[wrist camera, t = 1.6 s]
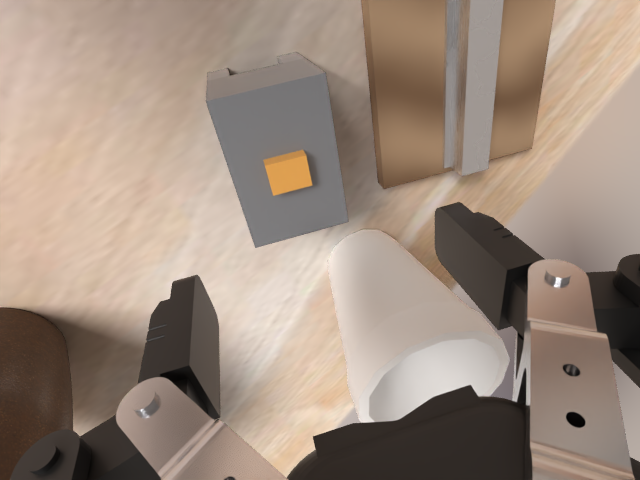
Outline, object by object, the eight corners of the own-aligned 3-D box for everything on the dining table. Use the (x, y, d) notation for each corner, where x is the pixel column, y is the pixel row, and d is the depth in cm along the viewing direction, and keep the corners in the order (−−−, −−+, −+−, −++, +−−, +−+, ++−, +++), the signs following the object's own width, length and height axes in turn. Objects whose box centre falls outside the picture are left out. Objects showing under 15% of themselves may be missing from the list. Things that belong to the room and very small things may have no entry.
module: (207, 72, 22) (205, 105, 16) (296, 51, 23) (330, 76, 16) (245, 191, 27) (256, 256, 20) (319, 172, 27) (352, 229, 21)
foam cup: (427, 214, 32) (536, 326, 21) (398, 299, 36) (475, 426, 26) (318, 211, 29) (378, 337, 18) (302, 303, 34) (343, 446, 23)
